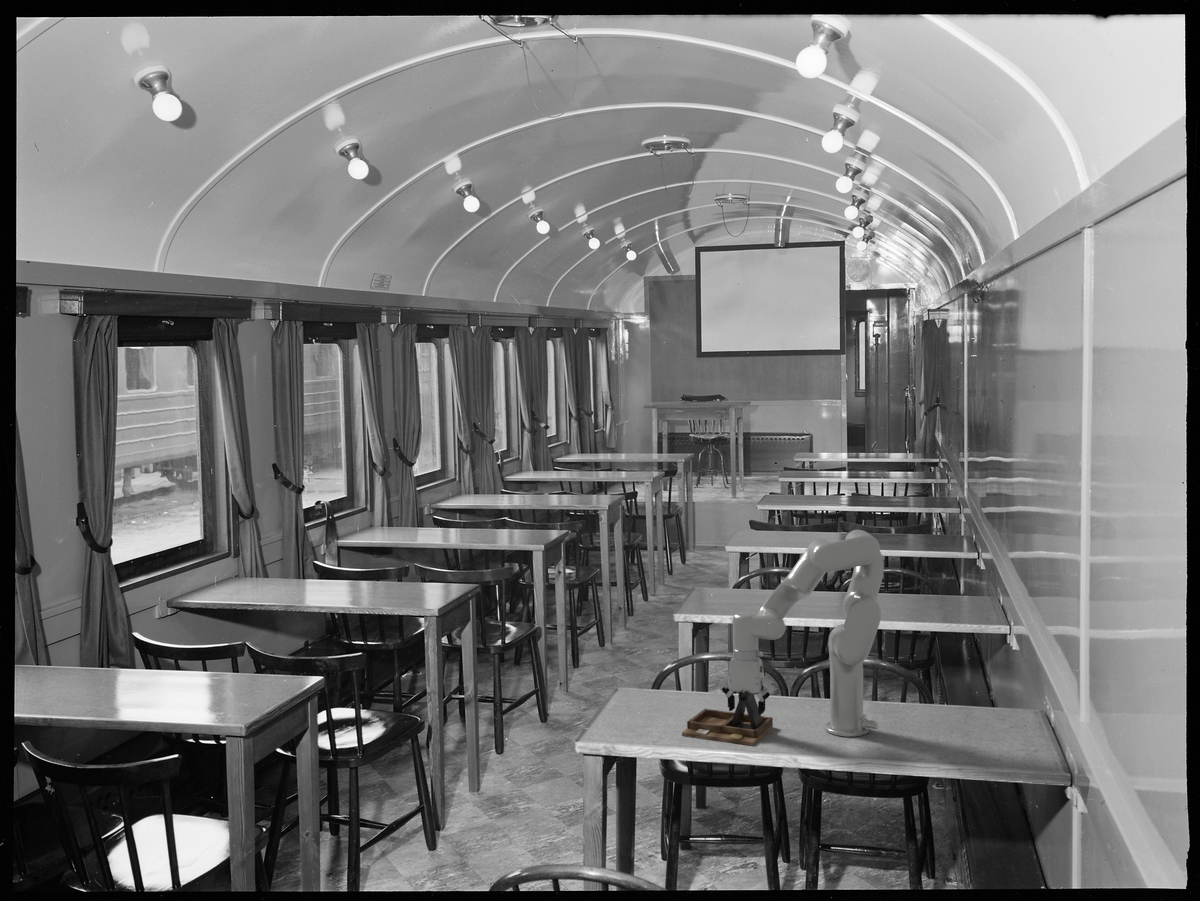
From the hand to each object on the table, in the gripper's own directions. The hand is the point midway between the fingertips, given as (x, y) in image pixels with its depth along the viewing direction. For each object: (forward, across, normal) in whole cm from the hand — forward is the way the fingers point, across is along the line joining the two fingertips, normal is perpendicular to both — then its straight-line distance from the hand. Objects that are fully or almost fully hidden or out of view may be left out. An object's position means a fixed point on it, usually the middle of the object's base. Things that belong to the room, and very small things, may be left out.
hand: (746, 711), depth 318 cm
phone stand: (+5, 0, 0) cm, 5 cm away
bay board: (+6, +5, +2) cm, 8 cm away
